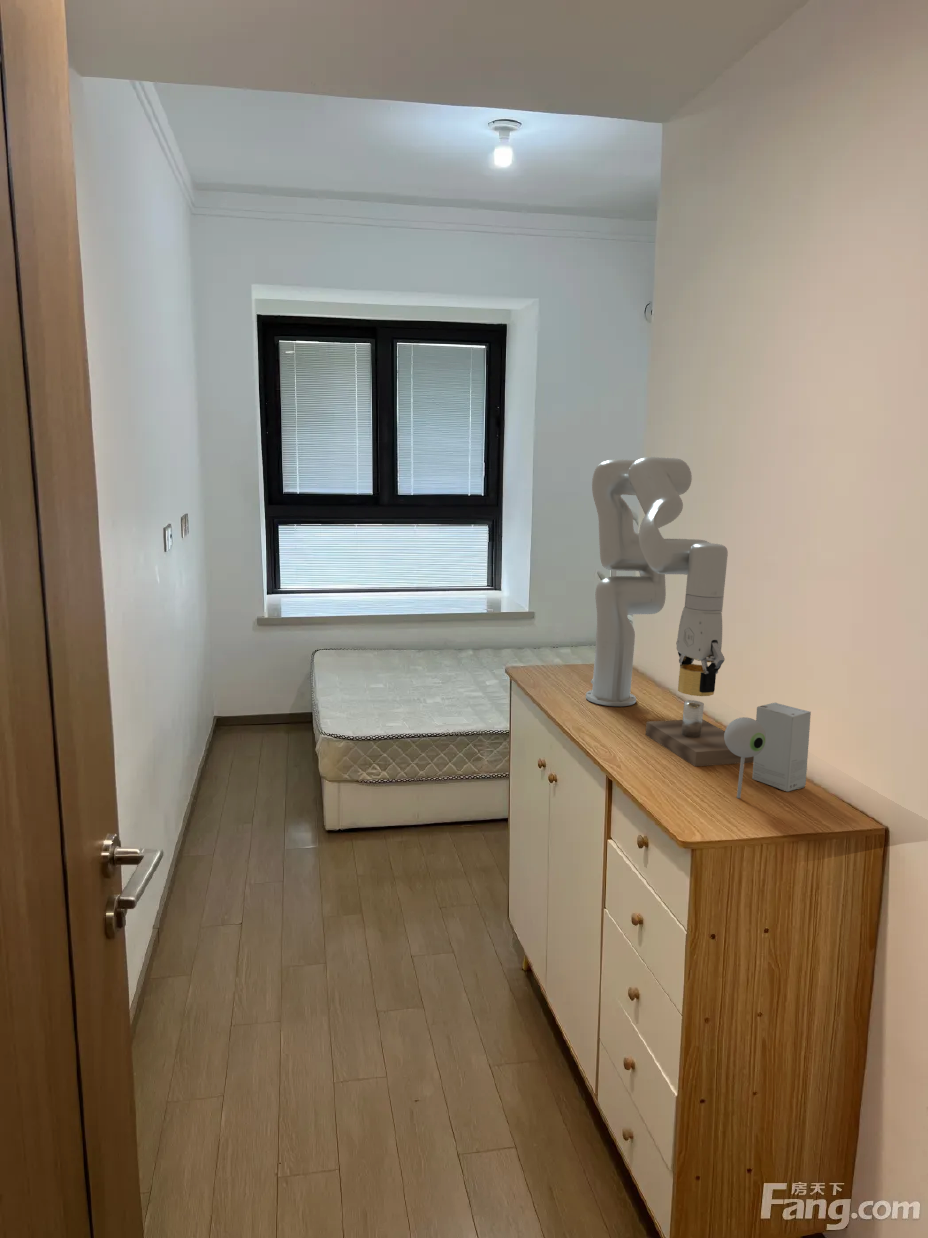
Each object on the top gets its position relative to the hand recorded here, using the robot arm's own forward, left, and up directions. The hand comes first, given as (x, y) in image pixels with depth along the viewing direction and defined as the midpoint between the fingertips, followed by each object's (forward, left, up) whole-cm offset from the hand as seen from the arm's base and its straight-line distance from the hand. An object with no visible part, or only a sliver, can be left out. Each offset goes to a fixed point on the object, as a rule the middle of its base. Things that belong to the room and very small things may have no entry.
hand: (696, 686), depth 176 cm
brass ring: (0, 0, -1) cm, 1 cm away
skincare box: (+21, +6, -14) cm, 26 cm away
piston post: (0, 0, -11) cm, 11 cm away
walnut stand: (0, +2, -14) cm, 14 cm away
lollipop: (+26, -6, -14) cm, 30 cm away
